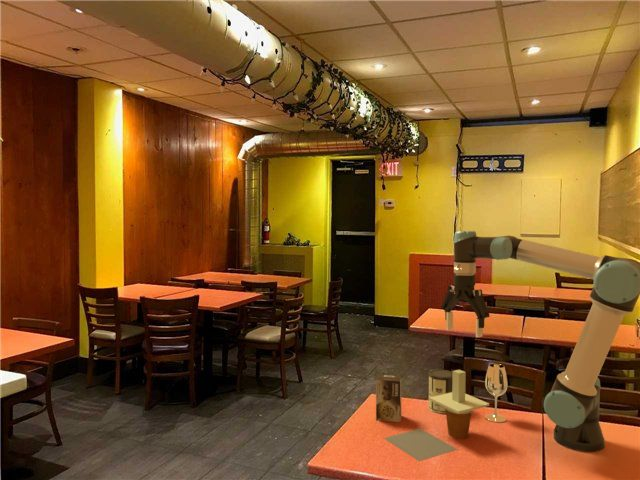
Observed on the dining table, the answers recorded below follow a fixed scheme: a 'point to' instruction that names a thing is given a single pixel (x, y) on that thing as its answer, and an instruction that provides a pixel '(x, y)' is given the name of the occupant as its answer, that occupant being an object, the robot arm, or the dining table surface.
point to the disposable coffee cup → (458, 424)
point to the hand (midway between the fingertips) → (463, 333)
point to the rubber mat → (420, 444)
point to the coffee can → (439, 387)
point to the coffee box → (388, 398)
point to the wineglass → (496, 388)
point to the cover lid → (458, 396)
